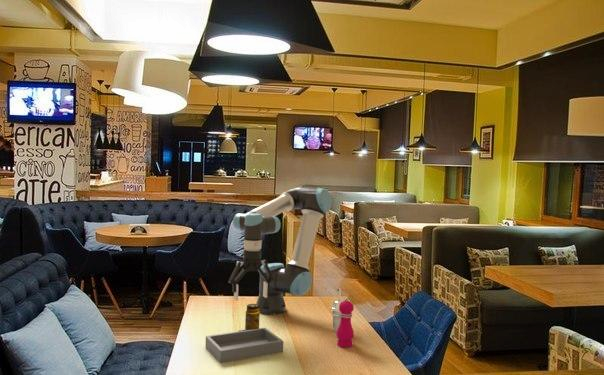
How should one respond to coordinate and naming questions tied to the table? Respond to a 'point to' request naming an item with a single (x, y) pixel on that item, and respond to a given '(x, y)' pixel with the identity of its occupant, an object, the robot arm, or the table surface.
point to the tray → (243, 344)
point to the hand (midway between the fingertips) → (250, 298)
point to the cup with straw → (336, 312)
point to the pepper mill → (345, 324)
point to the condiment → (252, 317)
